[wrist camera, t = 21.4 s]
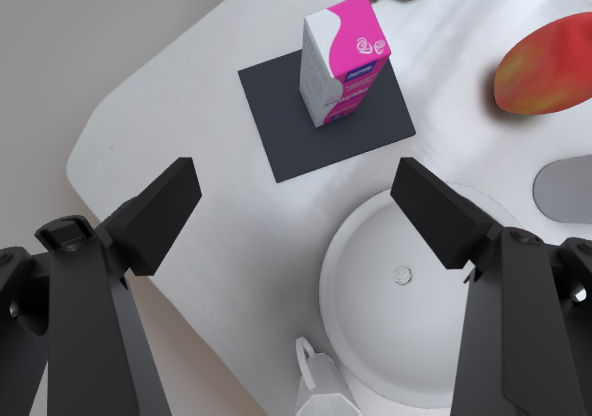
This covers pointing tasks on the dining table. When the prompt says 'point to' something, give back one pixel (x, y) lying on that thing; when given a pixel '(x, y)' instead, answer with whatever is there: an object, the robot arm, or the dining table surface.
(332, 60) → the supplement box
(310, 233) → the dining table surface
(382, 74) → the mat
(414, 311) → the white sink basin
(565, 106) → the apple
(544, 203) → the mug
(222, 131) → the dining table surface
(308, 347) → the cup
